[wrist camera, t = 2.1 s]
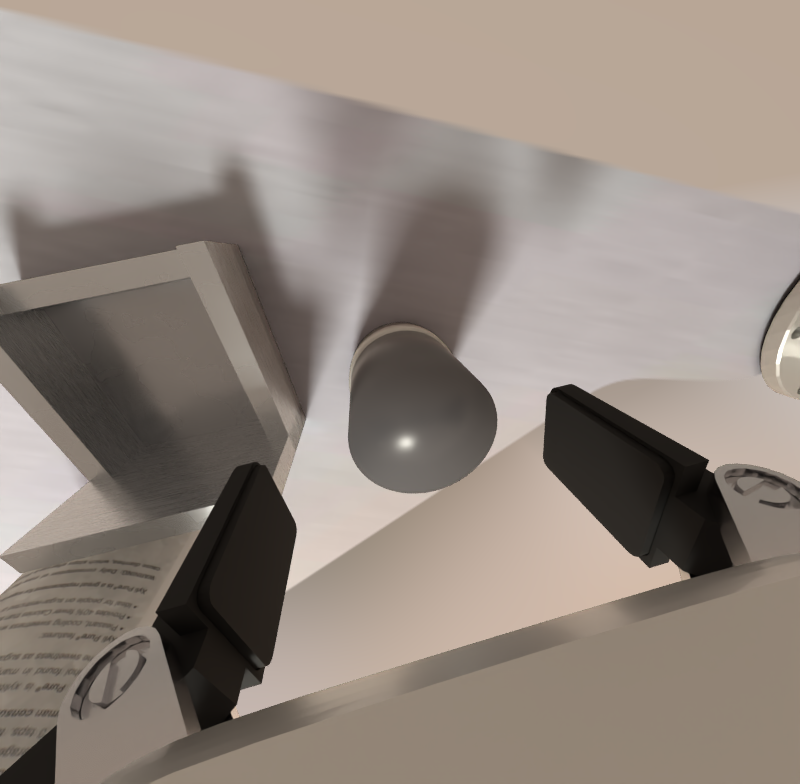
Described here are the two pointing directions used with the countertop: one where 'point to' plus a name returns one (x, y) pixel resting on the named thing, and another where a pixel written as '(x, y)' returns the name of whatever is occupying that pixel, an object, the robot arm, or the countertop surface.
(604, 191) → the countertop surface
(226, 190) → the countertop surface
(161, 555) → the supplement tub
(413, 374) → the grey rounded-end cylinder
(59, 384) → the open square box
